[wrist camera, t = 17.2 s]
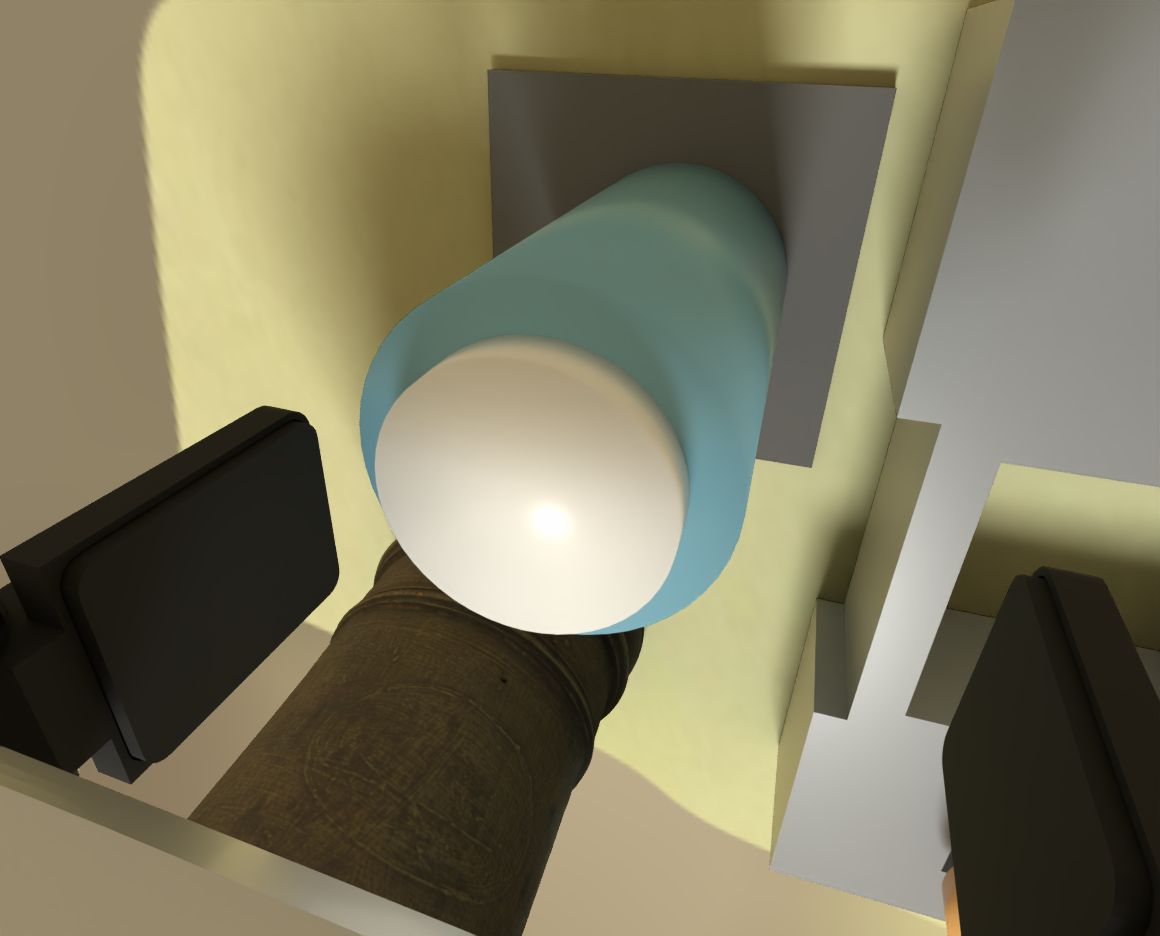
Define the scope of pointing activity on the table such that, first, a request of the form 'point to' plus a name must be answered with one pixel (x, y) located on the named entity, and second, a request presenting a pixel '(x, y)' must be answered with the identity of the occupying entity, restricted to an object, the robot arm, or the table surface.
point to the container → (427, 753)
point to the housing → (982, 414)
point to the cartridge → (585, 407)
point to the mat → (728, 144)
